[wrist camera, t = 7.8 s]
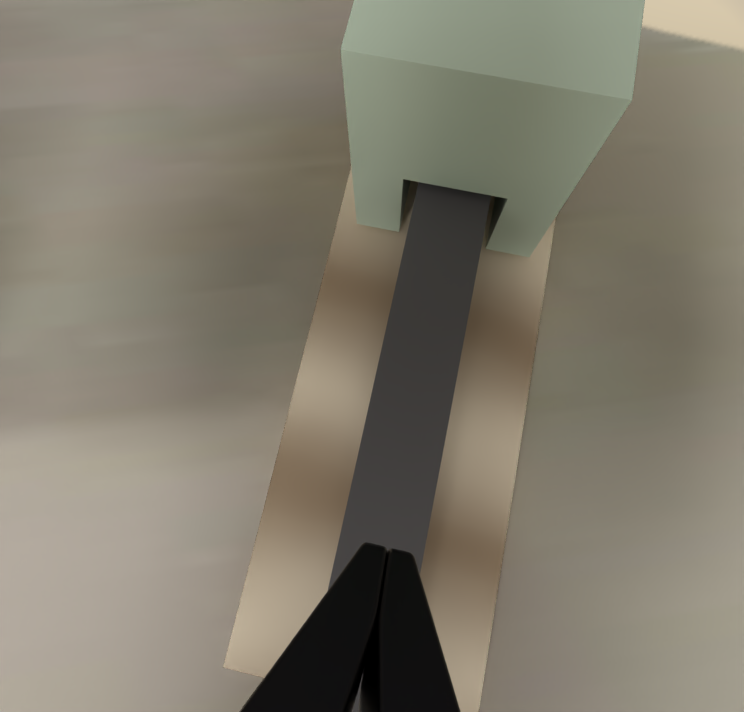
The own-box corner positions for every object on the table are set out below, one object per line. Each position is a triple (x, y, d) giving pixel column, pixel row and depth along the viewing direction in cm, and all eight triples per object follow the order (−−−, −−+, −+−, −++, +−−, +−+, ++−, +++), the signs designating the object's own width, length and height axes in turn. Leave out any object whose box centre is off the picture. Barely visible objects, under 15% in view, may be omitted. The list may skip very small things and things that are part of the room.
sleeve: (529, 257, 17) (631, 100, 10) (356, 223, 17) (340, 49, 10) (547, 147, 18) (653, -67, 11) (382, 117, 18) (383, -108, 11)
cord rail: (383, 708, 15) (384, 764, 12) (311, 689, 15) (294, 740, 12) (501, 94, 19) (523, 23, 16) (444, 84, 19) (456, 12, 16)
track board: (467, 708, 16) (475, 731, 14) (236, 651, 16) (223, 667, 15) (564, 100, 20) (578, 71, 19) (383, 69, 21) (383, 38, 19)
